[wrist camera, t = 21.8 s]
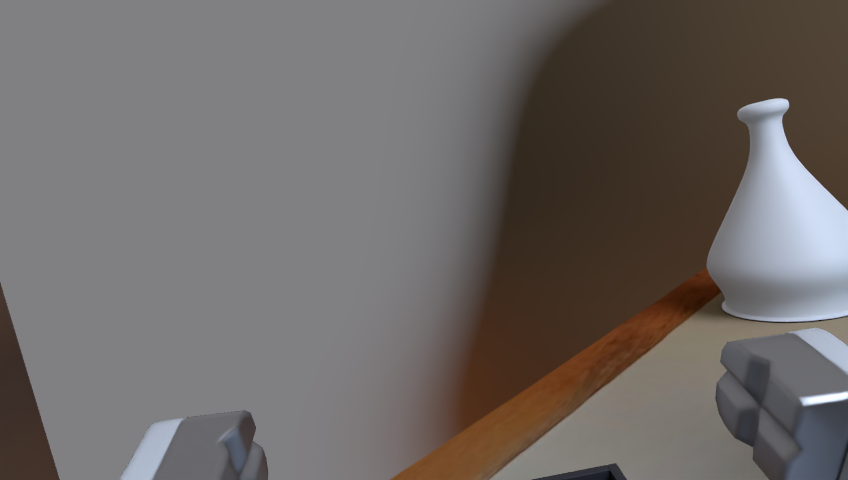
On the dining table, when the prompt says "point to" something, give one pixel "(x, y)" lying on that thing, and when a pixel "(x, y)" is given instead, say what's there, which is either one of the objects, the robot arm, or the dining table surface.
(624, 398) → the dining table surface
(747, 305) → the vase
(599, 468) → the pan
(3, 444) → the shelf post
